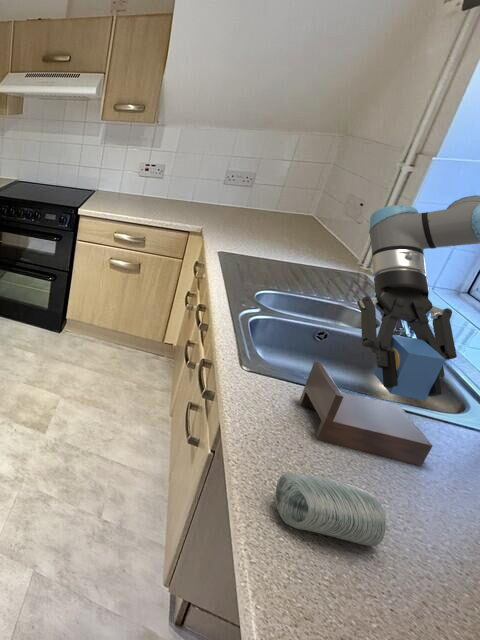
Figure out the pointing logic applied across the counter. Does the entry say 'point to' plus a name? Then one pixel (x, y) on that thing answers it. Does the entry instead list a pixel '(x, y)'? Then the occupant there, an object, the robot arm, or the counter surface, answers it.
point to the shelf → (363, 421)
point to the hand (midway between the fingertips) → (411, 390)
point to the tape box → (413, 367)
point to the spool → (330, 508)
